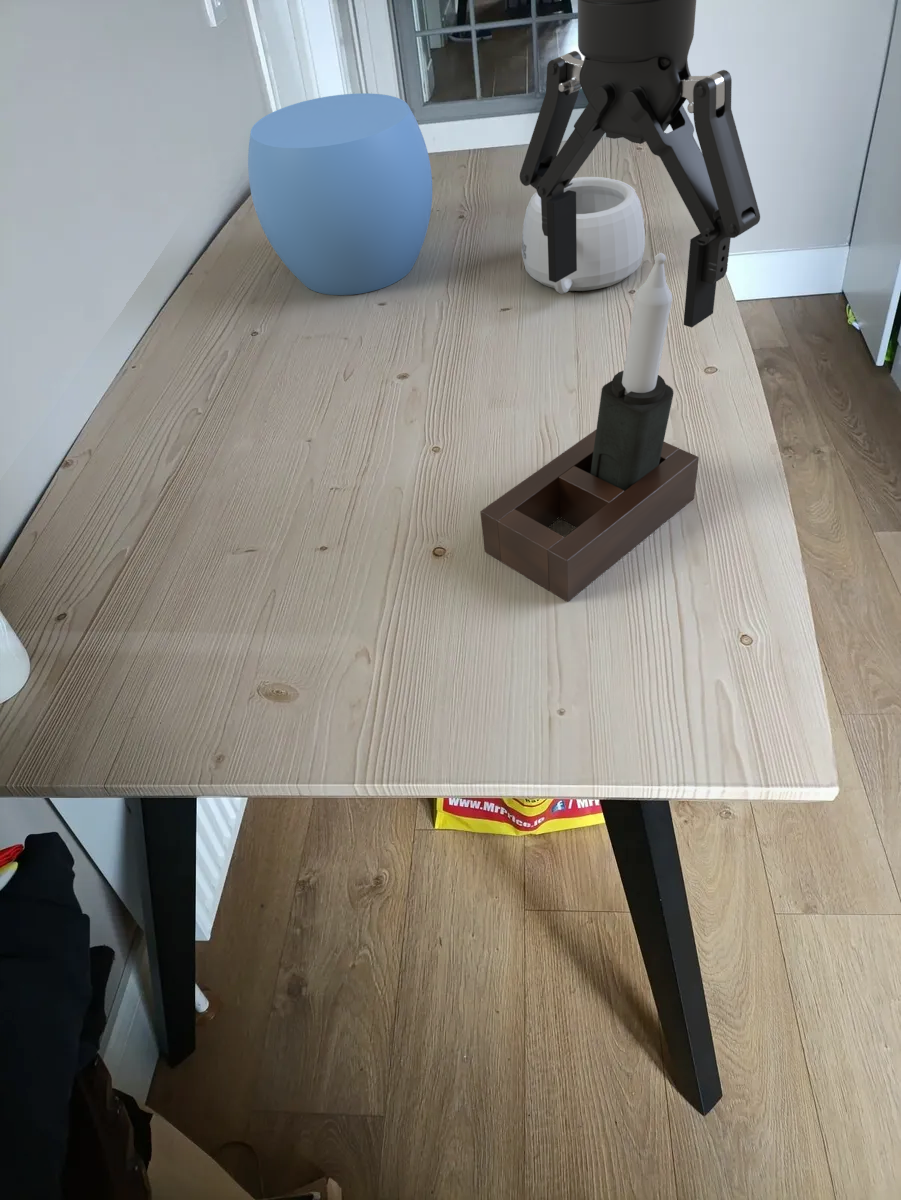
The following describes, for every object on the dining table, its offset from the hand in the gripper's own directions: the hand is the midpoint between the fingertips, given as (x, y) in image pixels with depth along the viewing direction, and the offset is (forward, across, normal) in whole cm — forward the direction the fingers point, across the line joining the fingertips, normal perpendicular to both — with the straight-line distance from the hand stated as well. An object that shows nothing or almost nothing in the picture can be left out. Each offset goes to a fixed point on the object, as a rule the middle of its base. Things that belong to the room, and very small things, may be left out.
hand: (626, 296), depth 71 cm
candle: (+22, 0, 0) cm, 22 cm away
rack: (+22, 0, +4) cm, 22 cm away
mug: (+21, +35, -35) cm, 54 cm away
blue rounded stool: (+21, +64, -19) cm, 70 cm away
